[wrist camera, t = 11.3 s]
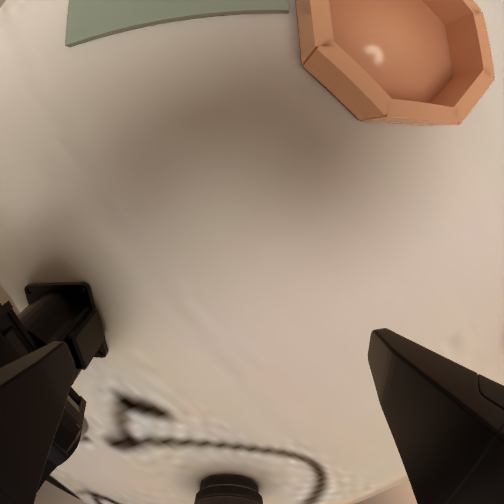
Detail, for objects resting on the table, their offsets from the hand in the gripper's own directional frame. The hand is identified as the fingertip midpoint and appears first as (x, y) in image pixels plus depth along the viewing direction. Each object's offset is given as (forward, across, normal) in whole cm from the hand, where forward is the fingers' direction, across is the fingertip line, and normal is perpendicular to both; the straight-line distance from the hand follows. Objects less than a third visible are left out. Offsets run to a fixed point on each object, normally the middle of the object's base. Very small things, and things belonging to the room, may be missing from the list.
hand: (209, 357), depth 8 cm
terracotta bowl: (+13, -11, -13) cm, 21 cm away
